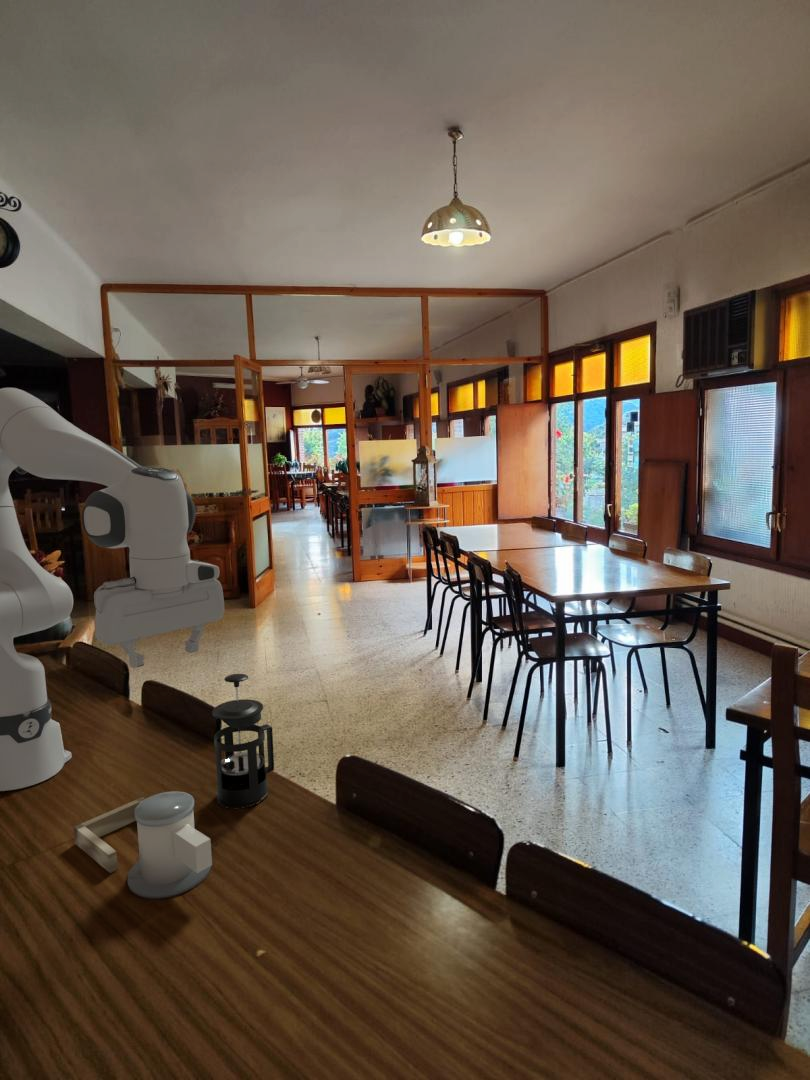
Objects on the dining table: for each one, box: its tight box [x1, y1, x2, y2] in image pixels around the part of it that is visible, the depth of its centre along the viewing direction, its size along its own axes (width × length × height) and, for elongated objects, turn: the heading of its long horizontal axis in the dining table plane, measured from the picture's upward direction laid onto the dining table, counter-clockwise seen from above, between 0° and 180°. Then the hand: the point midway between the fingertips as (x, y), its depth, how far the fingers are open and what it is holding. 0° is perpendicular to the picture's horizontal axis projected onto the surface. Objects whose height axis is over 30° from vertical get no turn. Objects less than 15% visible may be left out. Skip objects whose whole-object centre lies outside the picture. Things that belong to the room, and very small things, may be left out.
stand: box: [73, 796, 146, 874], centre depth 108 cm, size 12×12×3 cm
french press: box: [212, 673, 275, 809], centre depth 121 cm, size 12×9×23 cm
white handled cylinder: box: [135, 790, 213, 884], centre depth 98 cm, size 14×8×10 cm, turn 50°
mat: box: [127, 859, 213, 900], centre depth 100 cm, size 12×12×1 cm
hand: (165, 658), depth 104 cm, fingers open, 8 cm apart
